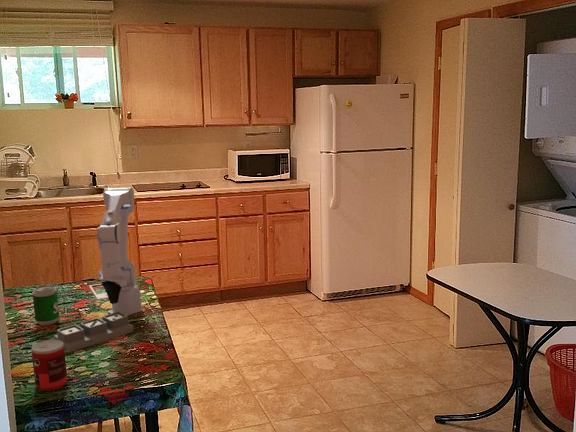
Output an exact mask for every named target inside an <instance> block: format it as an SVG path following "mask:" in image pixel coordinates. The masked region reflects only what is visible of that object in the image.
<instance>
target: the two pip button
mask: <svg viewBox="0 0 576 432" xmlns="http://www.w3.org/2000/svg"><path fill="white" fill-rule="evenodd" d="M122 317H123V316H121V315H119V314H117V315H113V316H110V317H107V318H108V319H110V320H115V319H118V318H122Z"/></svg>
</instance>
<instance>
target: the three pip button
mask: <svg viewBox="0 0 576 432" xmlns="http://www.w3.org/2000/svg"><path fill="white" fill-rule="evenodd" d="M99 324H102V323H101V322H99V321H93V322H90V323H87V324H85V325H87V326H88V327H92V326H95V325H99Z"/></svg>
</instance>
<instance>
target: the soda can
mask: <svg viewBox="0 0 576 432" xmlns="http://www.w3.org/2000/svg"><path fill="white" fill-rule="evenodd" d="M32 300H33V301H32V302H33V309H34V310H33V311H34V321H35V323H36V324H38V325H39V326H51V325H54V324H56V323H57V322H58V321H59V319H60V310H59V309H60V308H59V299H58V289H57V288H56V287H54V286H53V285H47V284H45V285H41V286H37V287H35V288H34V290H33V291H32Z"/></svg>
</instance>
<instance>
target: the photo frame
mask: <svg viewBox="0 0 576 432" xmlns="http://www.w3.org/2000/svg"><path fill="white" fill-rule="evenodd" d="M95 286H102V283H96V284H89V286H88V287H89V289H90V290H91V293H92V294H93V295H94V297H95V299H96V300H97V301H100V300H101V301H102V300H106V299H109V298H108V295H107V293H106V292H103V293H96V291H95V290H94V288H93V287H95Z"/></svg>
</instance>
